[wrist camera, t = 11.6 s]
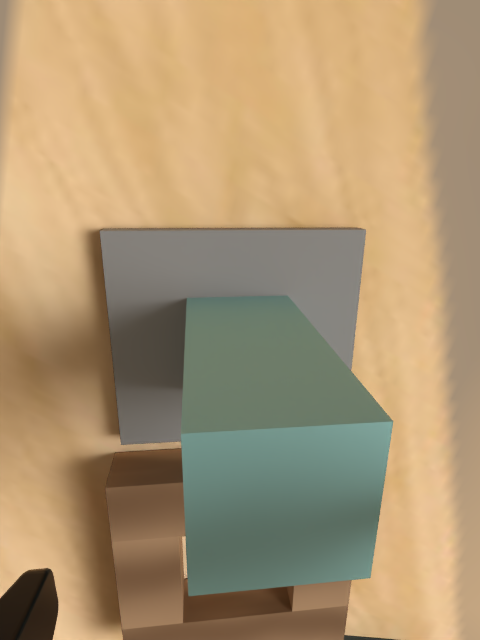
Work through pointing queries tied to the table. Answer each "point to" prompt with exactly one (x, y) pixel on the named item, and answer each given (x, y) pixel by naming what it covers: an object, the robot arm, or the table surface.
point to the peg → (275, 451)
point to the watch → (362, 638)
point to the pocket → (168, 575)
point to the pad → (213, 281)
